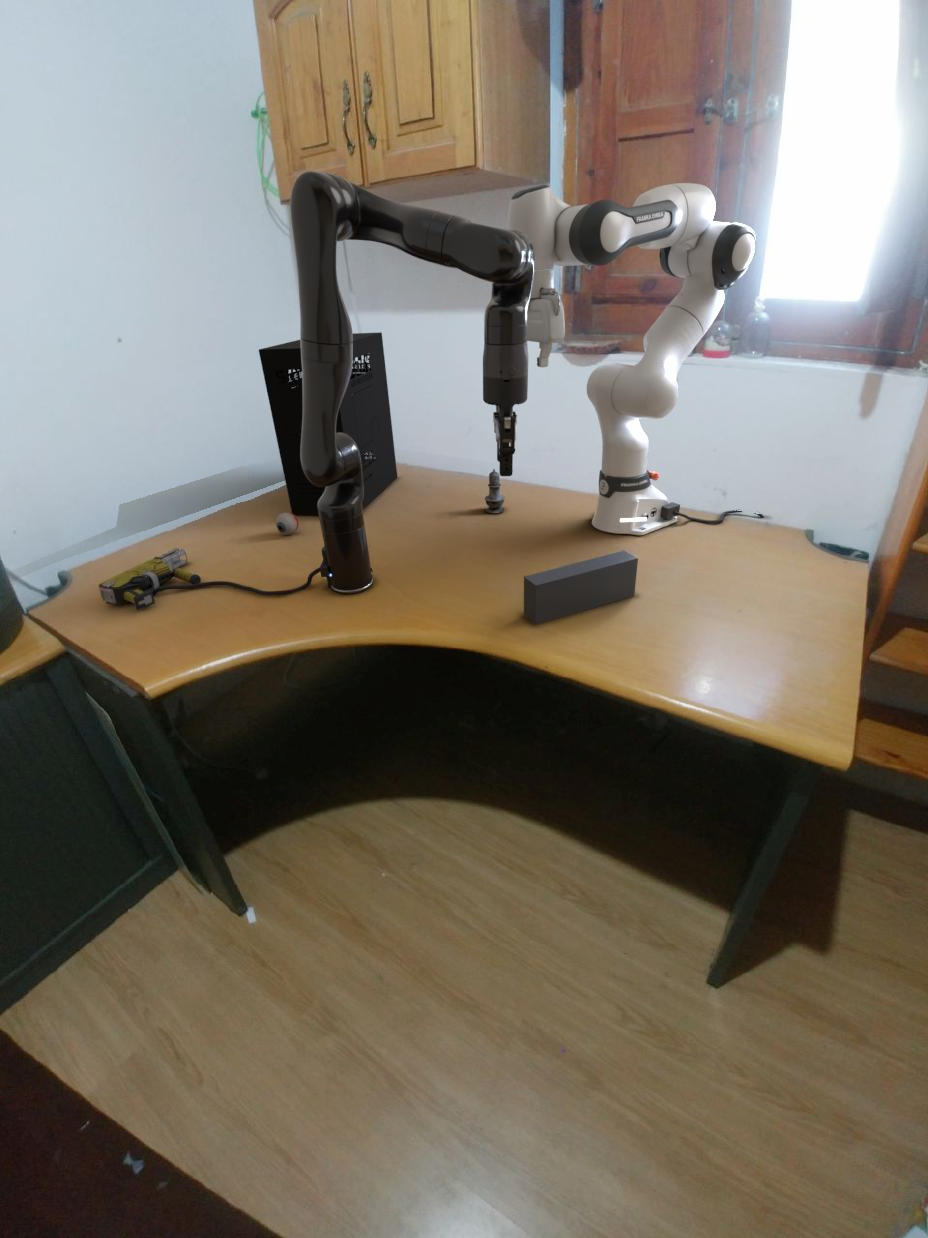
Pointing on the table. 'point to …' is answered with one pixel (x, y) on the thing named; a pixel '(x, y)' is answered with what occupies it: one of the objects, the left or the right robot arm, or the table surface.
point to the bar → (579, 586)
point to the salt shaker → (494, 494)
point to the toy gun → (146, 580)
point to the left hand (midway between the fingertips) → (504, 468)
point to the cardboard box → (357, 417)
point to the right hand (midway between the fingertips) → (530, 364)
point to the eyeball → (287, 523)
